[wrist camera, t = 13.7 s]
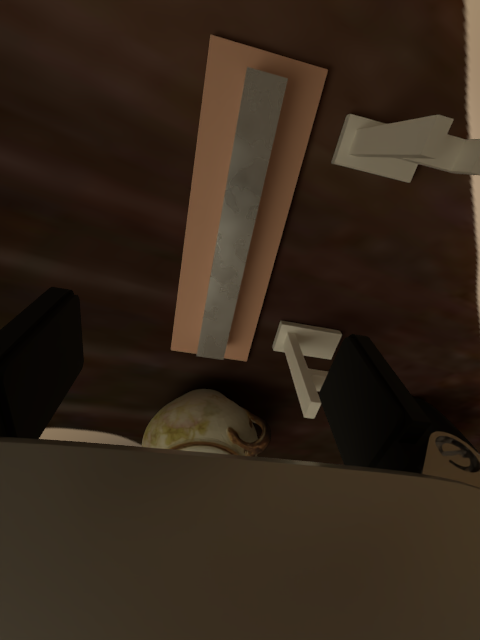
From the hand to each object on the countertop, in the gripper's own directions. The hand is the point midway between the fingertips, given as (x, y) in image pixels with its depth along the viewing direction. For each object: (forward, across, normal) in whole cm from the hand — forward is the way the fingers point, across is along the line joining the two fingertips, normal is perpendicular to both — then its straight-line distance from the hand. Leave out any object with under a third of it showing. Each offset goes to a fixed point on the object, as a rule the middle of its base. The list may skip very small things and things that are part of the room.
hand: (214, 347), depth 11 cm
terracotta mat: (+24, -2, +2) cm, 24 cm away
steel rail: (+23, -2, +2) cm, 23 cm away
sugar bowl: (+23, -3, +28) cm, 37 cm away
